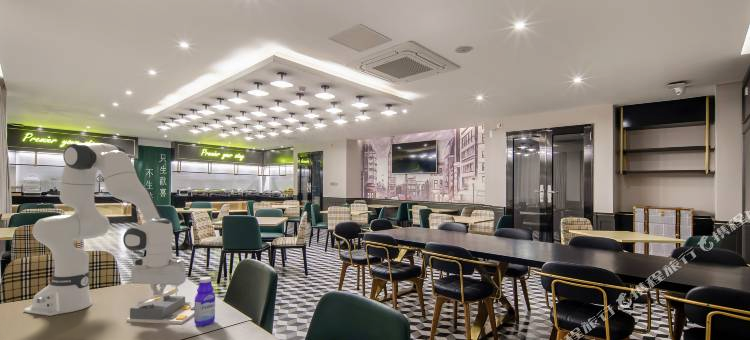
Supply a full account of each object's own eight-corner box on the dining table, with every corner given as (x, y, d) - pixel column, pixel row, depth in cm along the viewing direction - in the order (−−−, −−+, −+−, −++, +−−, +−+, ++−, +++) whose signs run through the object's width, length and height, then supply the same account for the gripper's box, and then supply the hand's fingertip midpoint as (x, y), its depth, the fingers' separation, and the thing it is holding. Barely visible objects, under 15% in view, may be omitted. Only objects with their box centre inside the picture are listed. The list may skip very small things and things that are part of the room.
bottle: (199, 328, 134) (201, 281, 134) (191, 324, 137) (192, 278, 137) (217, 321, 140) (218, 276, 140) (208, 318, 143) (210, 274, 143)
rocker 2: (154, 299, 149) (153, 295, 149) (160, 295, 153) (160, 292, 153) (172, 294, 149) (171, 290, 149) (178, 291, 153) (177, 287, 153)
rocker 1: (137, 307, 139) (136, 303, 139) (144, 303, 143) (144, 299, 143) (157, 303, 139) (156, 299, 139) (163, 299, 143) (163, 296, 143)
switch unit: (126, 321, 138) (126, 306, 138) (153, 306, 154) (154, 293, 154) (181, 323, 137) (182, 308, 137) (203, 308, 153) (204, 294, 153)
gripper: (189, 258, 144) (188, 293, 144) (140, 257, 145) (138, 291, 145) (180, 262, 138) (179, 298, 137) (128, 260, 138) (127, 296, 138)
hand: (158, 295), depth 141 cm, fingers closed
